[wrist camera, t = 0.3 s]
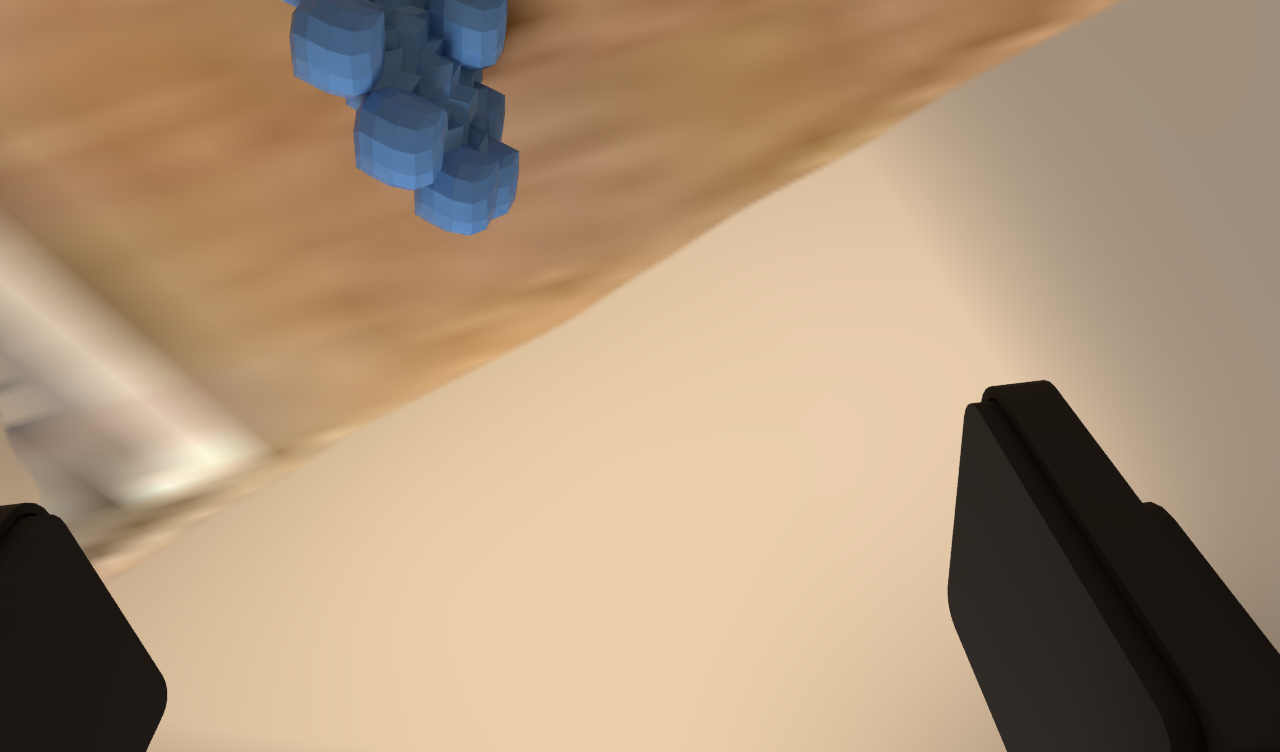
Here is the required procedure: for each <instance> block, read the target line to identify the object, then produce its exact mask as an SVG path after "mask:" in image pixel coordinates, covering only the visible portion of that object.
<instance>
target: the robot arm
mask: <svg viewBox="0 0 1280 752" xmlns="http://www.w3.org/2000/svg"><path fill="white" fill-rule="evenodd" d="M962 435H963V436H962V444H961V455H960V465H959V476H958V486H957V496H956V507H955V517H954V527H953V537H952V548H951V559H950V569H949V579H948V603H949V609H950V613H951V617H952V620H953V623H954V626H955V629H956V631H957V633H958V636H959V638H960V641H961V643H962V645H963V648H964V650H965V652H966V655H967V657H968V660H969V662H970V664H971V667H972V669H973V671H974V674H975V676H976V678H977V681H978V683H979V686H980V688H981V690H982V693H983V695H984V698H985V700H986V702H987V705H988V707H989V710H990V712H991V714H992V717H993V719H994V721H995V724H996V726H997V729H998V731H999V733H1000V736H1001V738H1002V741H1003V743H1004V745H1005V748H1006V750H1007V752H1280V654H1279V653H1278V652H1277V650H1276V649H1275V648H1274V646H1273V645H1272V644H1271V643H1270V642H1269V640H1268V639H1267V637H1266V636H1265V635H1264V634H1263V632H1262V631H1261V630H1260V629H1259V627H1258V626H1257V625H1256V623H1255V622H1254V621H1253V619H1252V618H1251V617H1250V616H1249V614H1248V613H1247V612H1246V611H1245V609H1244V608H1243V607H1242V605H1241V604H1240V603H1239V602H1238V600H1237V599H1236V598H1235V596H1234V595H1233V594H1232V593H1231V591H1230V590H1229V589H1228V587H1227V586H1226V585H1225V583H1224V582H1223V581H1222V580H1221V578H1220V577H1219V576H1218V574H1217V573H1216V572H1215V571H1214V569H1213V568H1212V567H1211V565H1210V564H1209V563H1208V562H1207V560H1206V559H1205V558H1204V556H1203V555H1202V554H1201V553H1200V551H1199V550H1198V549H1197V547H1196V546H1195V545H1194V544H1193V542H1192V541H1191V540H1190V538H1189V537H1188V536H1187V535H1186V533H1185V532H1184V531H1183V530H1182V528H1181V527H1180V526H1179V524H1178V523H1177V522H1176V520H1175V519H1174V518H1173V517H1172V516H1171V515H1170V514H1169V513H1168V512H1167V511H1166V510H1165V509H1164V508H1163V507H1161V506H1159V505H1156V504H1155V503H1152V502H1145V503H1142V502H1141V501H1140V499H1139V498H1138V496H1137V495H1136V494H1135V493H1134V491H1133V490H1132V489H1131V487H1130V486H1129V485H1128V483H1127V482H1126V480H1125V479H1124V478H1123V476H1122V475H1121V474H1120V473H1119V471H1118V470H1117V468H1116V467H1115V466H1114V464H1113V463H1112V462H1111V461H1110V459H1109V458H1108V457H1107V455H1106V454H1105V453H1104V451H1103V450H1102V448H1101V447H1100V446H1099V444H1098V443H1097V442H1096V441H1095V439H1094V438H1093V437H1092V435H1091V434H1090V433H1089V431H1088V430H1087V429H1086V428H1085V426H1084V425H1083V423H1082V422H1081V421H1080V419H1079V418H1078V417H1077V415H1076V414H1075V413H1074V411H1073V410H1072V409H1071V407H1070V406H1069V405H1068V403H1067V402H1066V401H1065V399H1064V398H1063V397H1062V395H1061V394H1060V393H1059V391H1058V390H1057V389H1056V387H1055V386H1054V385H1053V384H1052V383H1051V382H1049V381H1045V380H1041V381H1032V382H1025V383H1016V384H1007V385H999V386H991V387H988V388H987V389H986V390H985V392H984V393H983V396H982V401H981V402H979V403H971V404H969V405H968V406H967V408H966V410H965V415H964V424H963V434H962ZM166 703H167V687H166V683H165V680H164V678H163V675H162V674H161V672H160V671H159V669H158V668H157V666H156V665H155V663H154V661H153V660H152V658H151V657H150V655H149V654H148V652H147V651H146V649H145V648H144V646H143V645H142V643H141V641H140V640H139V638H138V637H137V635H136V633H135V632H134V630H133V629H132V627H131V626H130V624H129V623H128V621H127V619H126V618H125V616H124V615H123V613H122V612H121V610H120V608H119V607H118V605H117V604H116V602H115V601H114V599H113V598H112V596H111V594H110V593H109V591H108V590H107V588H106V587H105V585H104V583H103V582H102V580H101V579H100V577H99V576H98V574H97V573H96V571H95V569H94V568H93V566H92V565H91V563H90V562H89V560H88V559H87V557H86V555H85V554H84V552H83V551H82V549H81V548H80V546H79V545H78V543H77V541H76V540H75V538H74V537H73V535H72V534H71V532H70V530H69V529H68V527H67V526H66V524H65V523H64V522H63V521H62V520H61V518H59V517H57V516H55V515H50V514H49V513H48V512H47V511H46V510H45V509H44V508H43V507H41V506H39V505H37V504H36V503H20V504H12V505H4V506H0V752H146V750H147V748H148V746H149V744H150V742H151V740H152V738H153V735H154V733H155V731H156V729H157V727H158V725H159V723H160V720H161V718H162V716H163V714H164V711H165V708H166Z"/></svg>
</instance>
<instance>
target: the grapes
mask: <svg viewBox="0 0 1280 752" xmlns="http://www.w3.org/2000/svg"><path fill="white" fill-rule="evenodd" d="M282 1H284V2H286V3H288V4H290V5H292V6H294V7H296V9H295V11H294V12H293V13H292V21H291V29H290V46H291V55H292V63H293V70H294V76H296V77H297V78H299V79H301V80H303V81H305V82H307V83H309V84H310V85H312V86H314V87H316V88H318V89H320V90H322V91H324V92H326V93H329V94H333V95H336V96H340V97H344V98H346V105H348V106H350V107H352V108H354V109H355V110H356V118H355V126H354V145H355V157H356V168H358V169H359V170H361V171H363V172H364V173H366V174H368V175H369V176H371V177H373V178H375V179H377V180H379V181H381V182H383V183H384V184H386V185H388V186H392V187H397V188H401V189H406V190H414V200H415V214H416V215H418V216H419V217H421V218H423V219H424V220H426V221H427V222H429V223H431V224H433V225H435V226H437V227H439V228H441V229H443V230H444V231H447V232H452V233H457V234H462V235H473V234H475V233H478V232H480V231H483V230H485V229H486V228H487V226H488V225H489V223H490V221H491V219H494V218H497V217H499V216H502V215H504V214H507V213H508V211H509V209H510V207H511V205H512V203H513V201H514V199H515V195H516V189H517V181H518V173H519V151H518V150H516V149H514V148H512V147H510V146H508V145H506V144H504V143H502V142H501V140H502V133H503V124H504V116H505V95H503V94H501V93H499V92H497V91H495V90H493V89H491V88H489V87H487V86H485V85H483V84H481V82H482V80H483V79H482V69H483V68H487V67H490V66H492V65H494V64H495V63H496V62H497V60H498V58H499V57H500V55H501V53H502V51H503V49H504V41H505V33H506V24H507V16H508V0H282Z"/></svg>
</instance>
